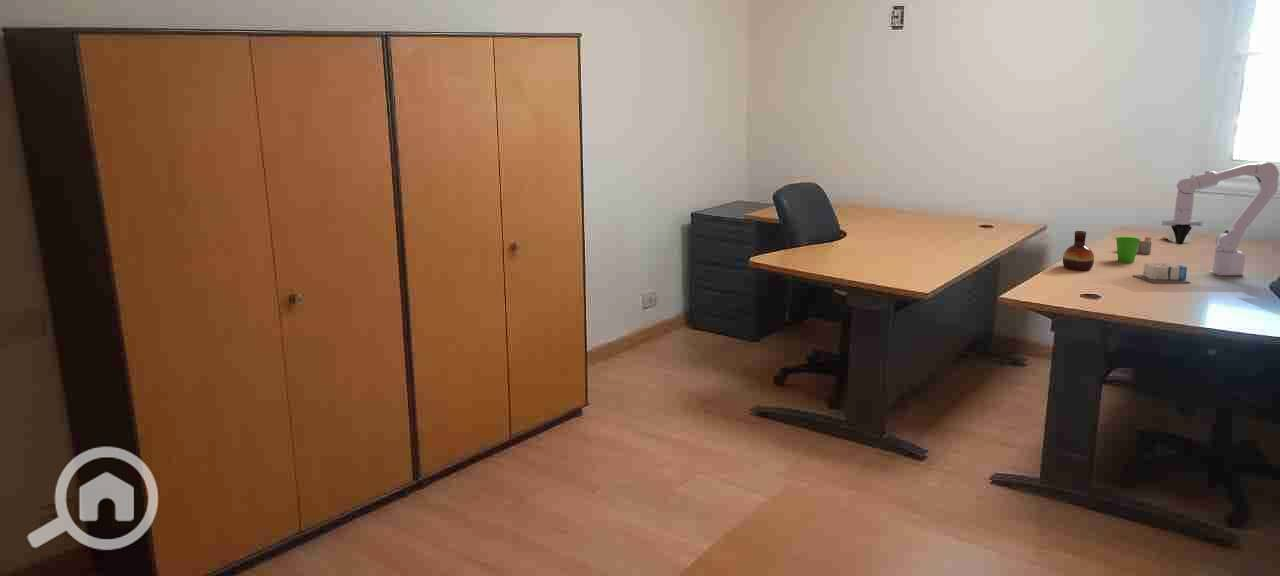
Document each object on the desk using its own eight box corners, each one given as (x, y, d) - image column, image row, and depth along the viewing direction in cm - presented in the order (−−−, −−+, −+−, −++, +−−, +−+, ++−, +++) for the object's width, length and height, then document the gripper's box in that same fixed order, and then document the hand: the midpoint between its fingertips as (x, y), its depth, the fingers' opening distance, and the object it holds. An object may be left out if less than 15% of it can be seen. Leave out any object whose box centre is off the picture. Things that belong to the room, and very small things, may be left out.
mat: (1167, 275, 343) (1167, 274, 343) (1190, 283, 329) (1190, 282, 329) (1132, 276, 344) (1132, 275, 344) (1154, 283, 329) (1154, 282, 329)
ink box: (1187, 267, 331) (1153, 266, 333) (1186, 280, 332) (1151, 279, 334) (1177, 263, 339) (1143, 262, 341) (1175, 276, 340) (1142, 275, 342)
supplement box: (1172, 249, 405) (1175, 221, 403) (1165, 247, 412) (1168, 219, 410) (1190, 250, 404) (1193, 221, 402) (1183, 247, 411) (1186, 219, 409)
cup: (1114, 266, 365) (1116, 239, 363) (1112, 262, 373) (1114, 236, 371) (1139, 267, 362) (1142, 240, 360) (1136, 263, 370) (1139, 237, 368)
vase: (1096, 270, 356) (1100, 231, 353) (1087, 274, 348) (1091, 234, 345) (1067, 267, 364) (1070, 229, 361) (1057, 271, 356) (1060, 231, 353)
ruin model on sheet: (1149, 259, 383) (1152, 236, 381) (1149, 260, 381) (1151, 237, 379) (1119, 257, 389) (1121, 234, 387) (1119, 258, 386) (1121, 235, 385)
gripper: (1196, 208, 353) (1192, 242, 356) (1159, 207, 353) (1154, 242, 356) (1207, 210, 346) (1202, 245, 349) (1169, 209, 346) (1164, 245, 349)
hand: (1179, 244), depth 352 cm, fingers closed
